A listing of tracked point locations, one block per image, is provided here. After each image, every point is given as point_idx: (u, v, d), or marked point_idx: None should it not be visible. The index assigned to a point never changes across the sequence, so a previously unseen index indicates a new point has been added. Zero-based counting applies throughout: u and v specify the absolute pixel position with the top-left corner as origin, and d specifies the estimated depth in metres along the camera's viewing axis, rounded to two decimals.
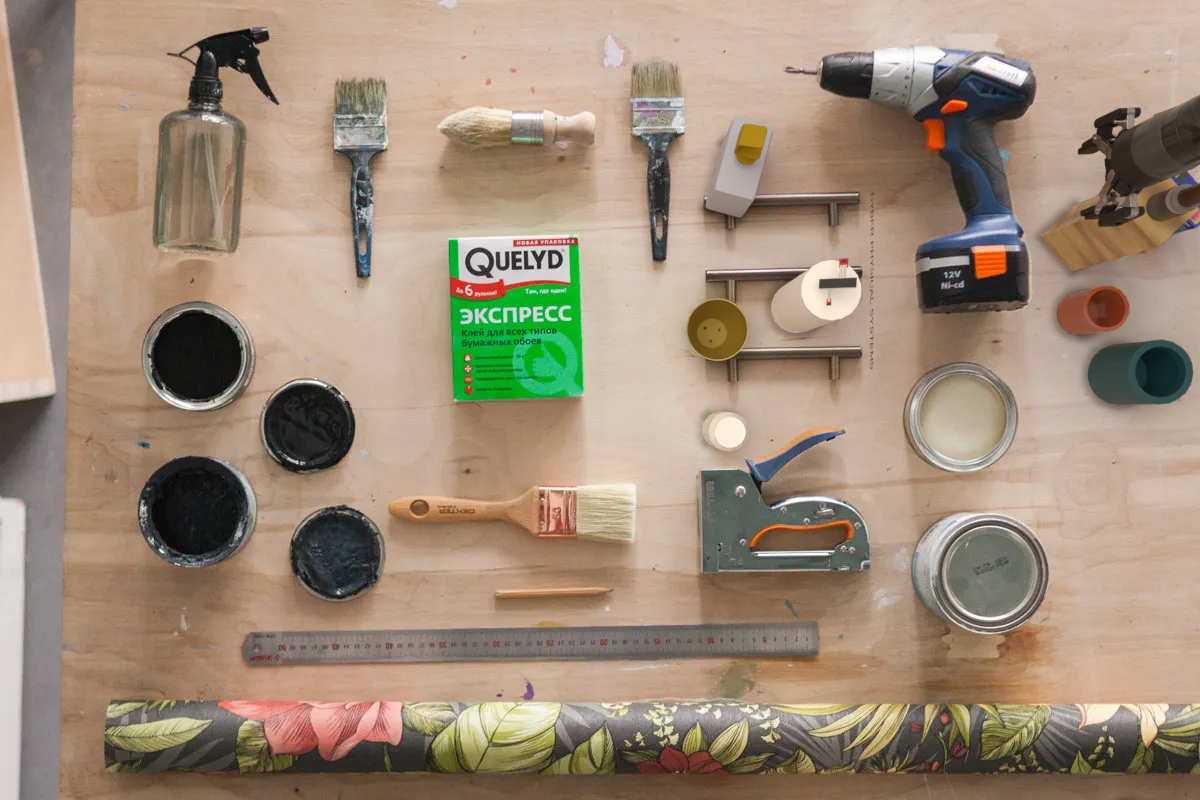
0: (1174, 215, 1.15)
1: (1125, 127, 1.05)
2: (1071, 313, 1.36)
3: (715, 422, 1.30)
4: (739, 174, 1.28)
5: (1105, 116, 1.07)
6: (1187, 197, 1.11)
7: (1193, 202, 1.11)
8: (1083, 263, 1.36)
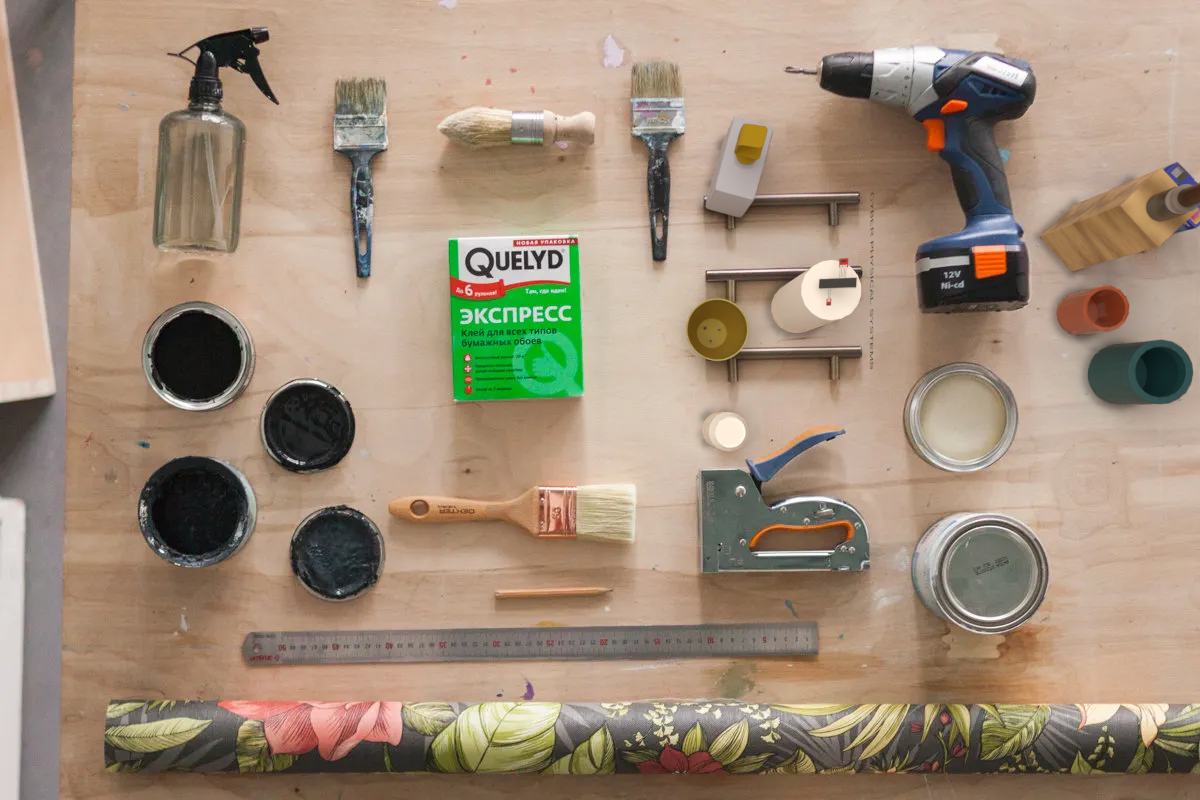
0: (1174, 215, 1.15)
1: None
2: (1071, 313, 1.36)
3: (715, 422, 1.30)
4: (739, 174, 1.28)
5: None
6: (1187, 197, 1.11)
7: (1193, 202, 1.11)
8: (1083, 263, 1.36)
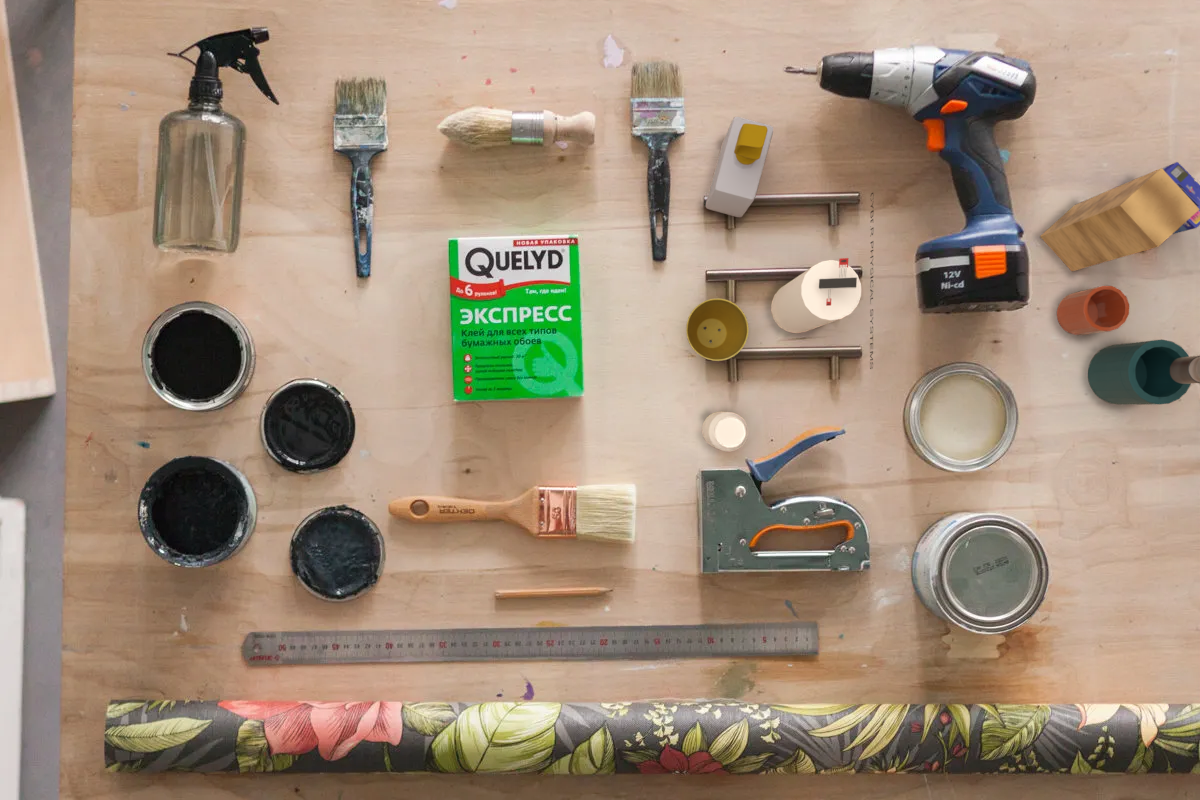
0: (1197, 382, 1.21)
1: None
2: (1071, 313, 1.36)
3: (715, 422, 1.30)
4: (739, 174, 1.28)
5: None
6: None
7: None
8: (1083, 263, 1.36)
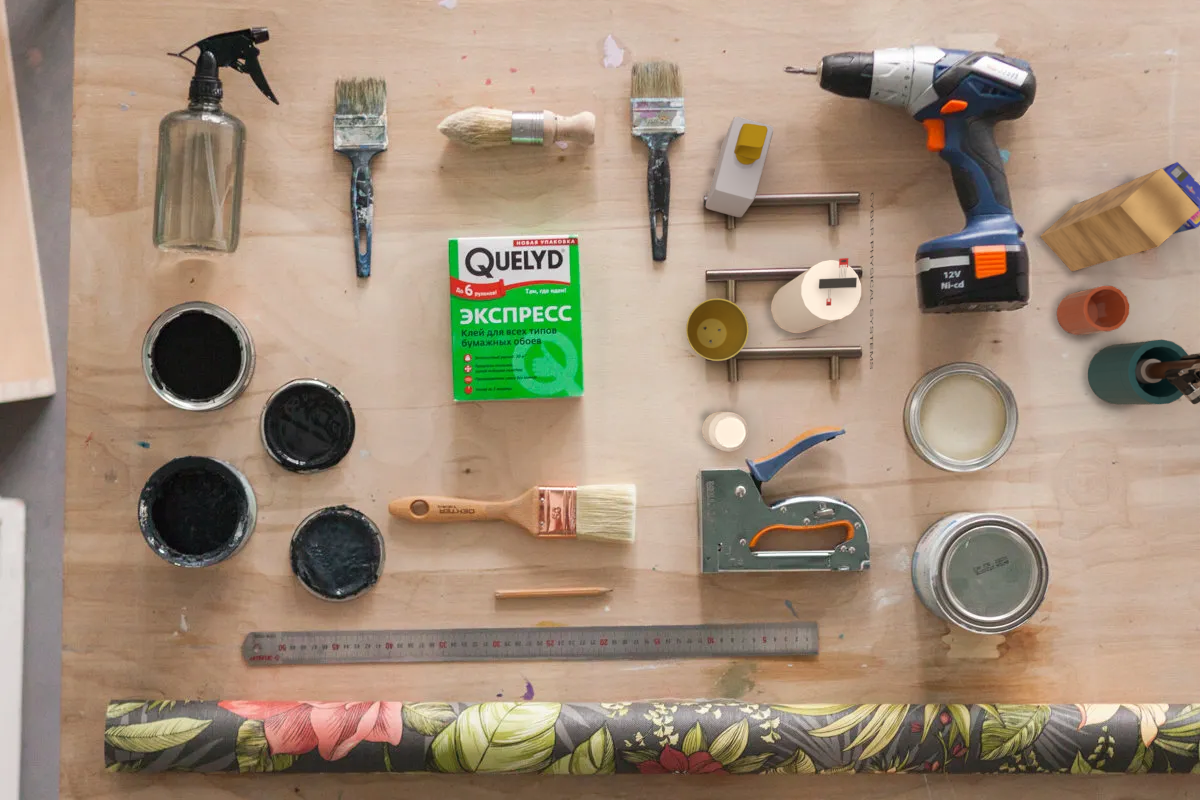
0: (1143, 383, 1.33)
1: None
2: (1071, 313, 1.36)
3: (715, 422, 1.30)
4: (739, 174, 1.28)
5: None
6: (1153, 373, 1.29)
7: (1158, 377, 1.29)
8: (1083, 263, 1.36)
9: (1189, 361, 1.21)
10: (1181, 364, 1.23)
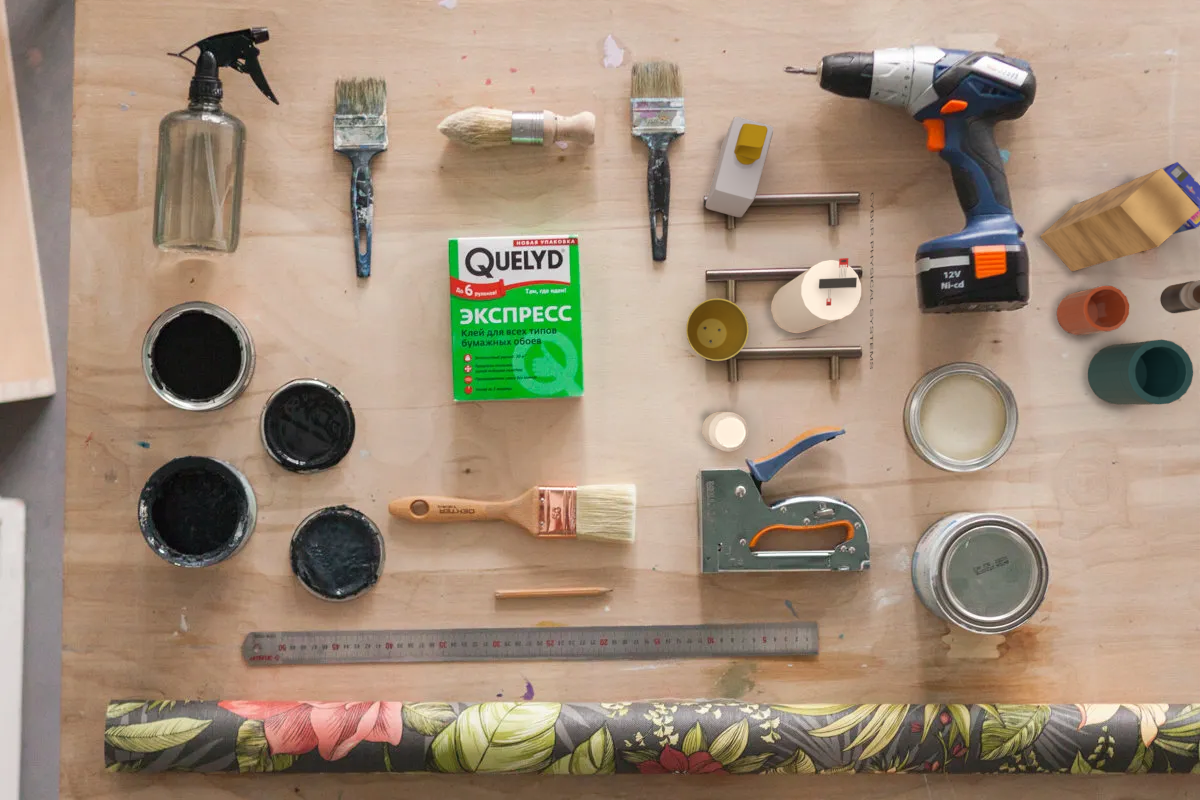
0: (1189, 310, 1.13)
1: None
2: (1071, 313, 1.36)
3: (715, 422, 1.30)
4: (739, 174, 1.28)
5: None
6: None
7: None
8: (1083, 263, 1.36)
9: None
10: None
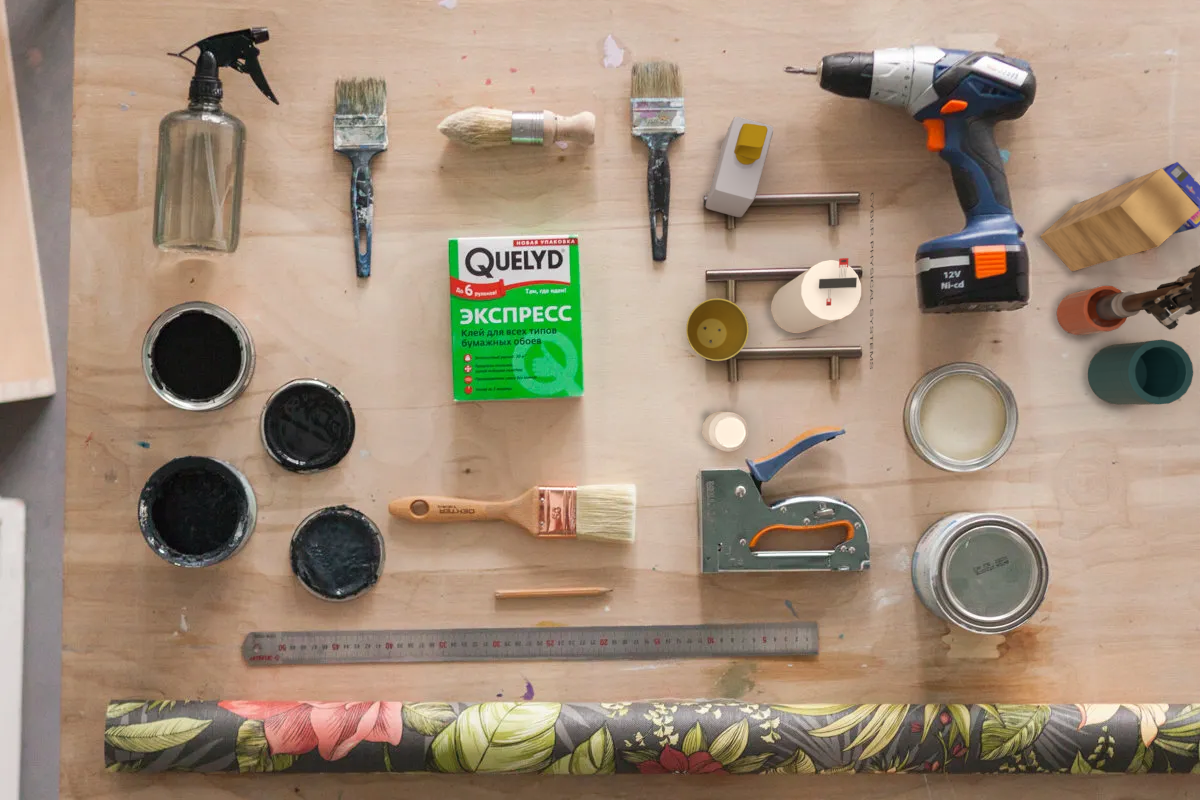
0: (1119, 317, 1.28)
1: None
2: (1071, 313, 1.36)
3: (715, 422, 1.30)
4: (739, 174, 1.28)
5: None
6: (1129, 304, 1.24)
7: (1135, 309, 1.24)
8: (1083, 263, 1.36)
9: (1166, 288, 1.17)
10: (1158, 292, 1.18)
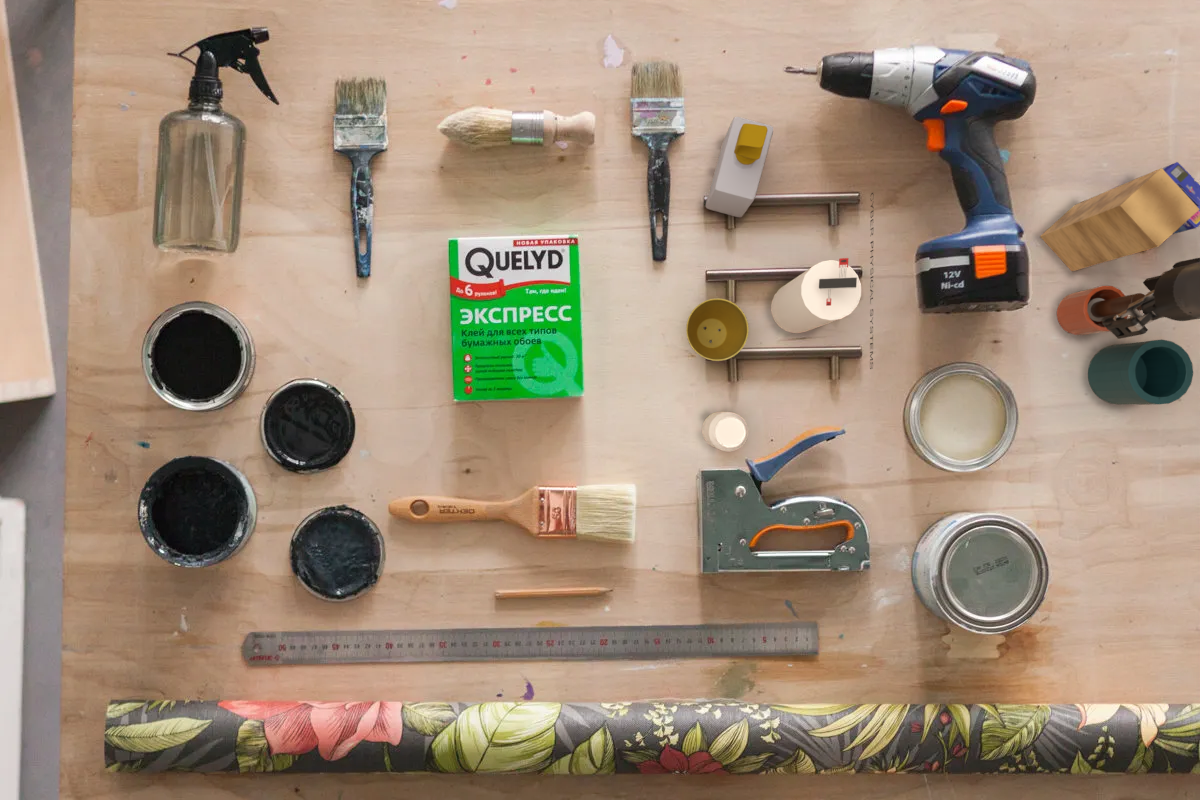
0: None
1: None
2: (1071, 313, 1.36)
3: (715, 422, 1.30)
4: (739, 174, 1.28)
5: (1187, 261, 1.20)
6: (1097, 311, 1.32)
7: (1102, 315, 1.32)
8: (1083, 263, 1.36)
9: (1129, 296, 1.25)
10: (1122, 299, 1.26)
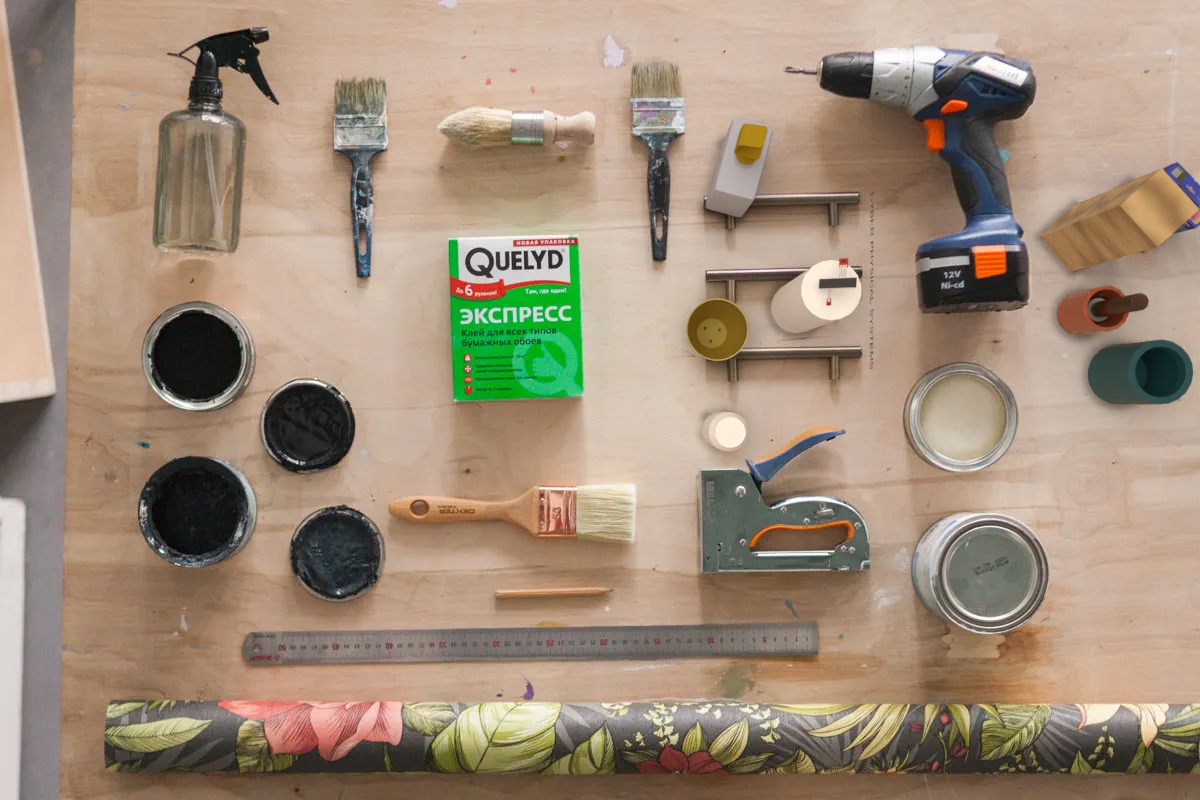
0: None
1: None
2: (1071, 313, 1.36)
3: (715, 422, 1.30)
4: (739, 174, 1.28)
5: None
6: (1097, 311, 1.32)
7: (1102, 315, 1.32)
8: (1083, 263, 1.36)
9: (1129, 296, 1.25)
10: (1122, 299, 1.26)
